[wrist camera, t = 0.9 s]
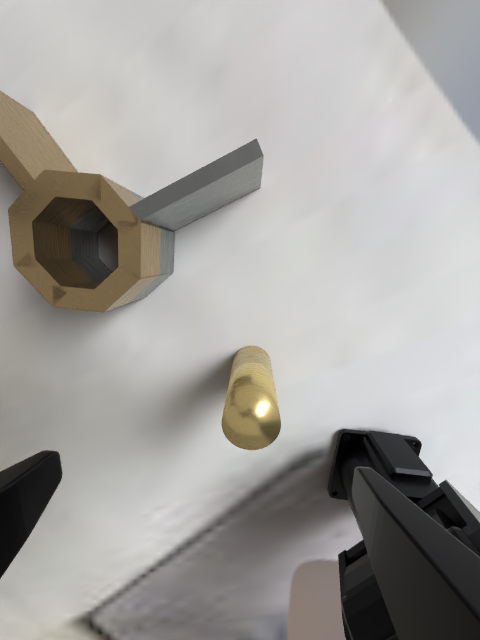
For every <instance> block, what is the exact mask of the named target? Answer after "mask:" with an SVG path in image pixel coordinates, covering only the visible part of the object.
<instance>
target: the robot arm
mask: <svg viewBox="0 0 480 640" xmlns="http://www.w3.org/2000/svg"><path fill="white" fill-rule="evenodd" d="M345 435H348V436H347V437H344V436H345ZM413 443H415V444H414V445H412V444H413ZM421 446H422V444H421V442H420V441H419V440H418V439H417V438H416V437H411V436H402V435H400V434H392V433H383V432H374V431H369V432H366V431H357V430H348V429H344V430H341V431H340V433H339V436H338V441H337V446H336V451H335V456H334V461H333V465H332V470H331V475H330V480H329V485H328V493H329V495H330V497H332V498H336V499H345V500H348V501H349V503H350V506H351V508H352V511H353V513H354V516H355V518H356V521H357V524H358V526H359V529H360V531H361V534H362V536H363V540H362V541H360V542H359V543H358V544H356V545H355V546H353V547H352V548H350V549H349V550H348V551H346V550H344V551H343V552H341V553H340V554H338V558H339V574H340V590H341V606H342V618H343V625H344V631H345V632H344V633H345V637H346V640H480V512H479V511H478V510H477V509H476V508H475V507H474V506H473V505H472V504H471V503H470V502H469V501H468V500H467V499H465V498H464V497H463V496H462V495H461V494H460V493H459V492H458V491H457V490H456V489H455V488H454V487H453V486H452V485H451V484H450V483H449V482H448V481H447V480H445V481H443V482H442V483H440V484H439V486H440V487H439V486H438V485H437V484H436V483H435V482H434V480H433V479H432V476H433V474H432V473H431V471H430V470H429V469H428V468H427V467H426V465H425V464H424V463H423V462H422V460H421V459H420V458H419V453H420V450H421ZM61 479H62V467H61V460H60V454H59V453H58V452H57V451H49V450H45V451H41V452H39V453H37V454H35V455H33V456H31V457H29V458H27V459H25V460H23V461H21V462H19V463H17V464H15V465H13V466H11V467H9V468H7V469H5V470H3V471H1V472H0V578H1V577H2V576H3V574H4V573H5V571H6V570H7V568H8V567H9V565H10V564H11V562H12V561H13V559H14V558H15V556H16V555H17V553H18V552H19V551H20V549H21V548H22V546H23V545H24V543H25V541H26V540H27V538H28V537H29V535H30V534H31V532H32V530H33V529H34V527H35V525H36V523H37V522H38V520H39V518H40V516H41V515H42V513H43V511H44V509H45V508H46V506H47V504H48V502H49V501H50V499H51V497H52V496H53V494H54V492H55V490H56V489H57V487H58V485H59V483H60V481H61ZM333 491H335V492H333Z"/></svg>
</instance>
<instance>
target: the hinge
mask: <svg viewBox="0 0 480 640" xmlns="http://www.w3.org/2000/svg"><path fill="white" fill-rule="evenodd" d="M0 161H1V162H2V163H3V165H4V166H5V167H6V169H7V170H8V171H9V172H10V174H11V175H12V176H13V177H14V179H15V180H16V181H17V183H18V184H19V185H20V186H21V188H22V189H23V190H24V192H23V193H22V195H21V196H20V197H19V198H18V199H17V200H16V201H15V202H14V203H13V205H12V206H11V207H10V208H9V210H8V213H9V223H10V233H11V243H12V253H13V263H14V267H15V268H16V269H17V270H18V271H19V272H20V273H21V274H22V275H23V276H24V277H25V278H26V279H27V280H28V281H29V282H30V284H31V285H32V286H33V287H34V288H35V289H36V290H37V291H38V292H39V293H40V294H41V295H42V296H43V297H44V298H45V299H46V300H47V301H48V302H49V303H50V304H51V305H52V306H54V307H58V308H68V309H78V310H88V311H97V312H105V311H108V310H111V309H114V308H116V307H119V306H122V305H124V304H127V303H130V302H133V301H135V300H138V299H141V298H143V297H146V296H148V295H149V294H150V293H151V292H152V291H153V290H154V289H155V288H157V287H158V286H159V285H160V284H161V283H162V282H163V281H164V280H165V279H167V278H168V277H169V276H170V275H171V274H172V273H173V270H174V242H175V233H174V231H176V230H178V229H180V228H182V227H184V226H186V225H188V224H190V223H192V222H194V221H196V220H198V219H199V218H201V217H203V216H205V215H207V214H209V213H211V212H213V211H215V210H217V209H219V208H221V207H223V206H225V205H227V204H229V203H231V202H233V201H235V200H237V199H239V198H241V197H243V196H245V195H247V194H249V193H251V192H253V191H255V190H257V189H259V188H260V186H261V176H262V166H263V153H262V151H261V148H260V146H259V143H258V141H257V139H255V140H253V141H251V142H249V143H247V144H246V145H244V146H242V147H240V148H238V149H236V150H234V151H232V152H231V153H229V154H227V155H225V156H223V157H221V158H219V159H217V160H216V161H214V162H212V163H210V164H208V165H206V166H204V167H202V168H201V169H199V170H197V171H195V172H193V173H191V174H189V175H187V176H186V177H184V178H182V179H180V180H178V181H176V182H174V183H172V184H171V185H169V186H167V187H165V188H163V189H161V190H159V191H157V192H156V193H154V194H152V195H150V196H148V197H146V198H143V197H141V196H139V195H137V194H135V193H134V192H132V191H130V190H128V189H126V188H124V187H122V186H121V185H119V184H117V183H115V182H113V181H111V180H109V179H108V178H106V177H104V176H102V175H100V174H89V173H78V172H77V171H76V169H75V168H74V166H73V165H72V164H71V162H70V161H69V160H68V158H67V157H66V156H65V154H64V153H63V152H62V150H61V149H60V148H59V146H58V145H57V144H56V142H55V141H54V140H53V138H52V137H51V136H50V134H49V133H48V131H47V130H46V129H45V127H44V126H43V125H42V123H41V122H40V121H39V119H38V118H37V117H36V115H35V114H34V113H33V112H32V111H30V110H29V109H27V108H26V107H24V106H23V105H21V104H20V103H18V102H17V101H15V100H14V99H12V98H10V97H9V96H7V95H6V94H4V93H3V92H1V91H0ZM109 220H110V221H111V223H112V224H113V225H114V226H115V227H116V228H117V229H118V268H117V269H116V270H115V271H114V272H113V273H111V272H110V271H109V270H108V269H107V268H106V266H105V265H104V264H103V263H102V262H101V261H100V260H99V259H98V235H97V232H98V231H99V230H100V229H101V228H102V227H103V226H104V225H105V224H106V223H107V222H108V221H109Z"/></svg>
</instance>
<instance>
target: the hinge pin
mask: <svg viewBox="0 0 480 640" xmlns="http://www.w3.org/2000/svg"><path fill="white" fill-rule="evenodd" d="M280 428H281V420H280V414H279V408H278V402H277V396H276V390H275V384H274V378H273V372H272V366H271V360H270V357H269V355H268V354H267V352H266V351H265V350H263V349H262V348H260V347H257V346H247V347H244V348H242V349H240V350H239V351H238V352H237V353H236V355H235V357H234V360H233V365H232V370H231V375H230V380H229V386H228V391H227V396H226V401H225V406H224V411H223V417H222V429H223V432H224V434H225V436H226V438H227V439H228V440H229V441H230V442H231V443H232V444H234V445H235V446H237V447H239V448H242V449H247V450H257V449H262V448H264V447H267V446H268V445H270V444H271V443H272V442H273V441H274V440H275V439H276V438H277V436H278V434H279V432H280Z"/></svg>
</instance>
